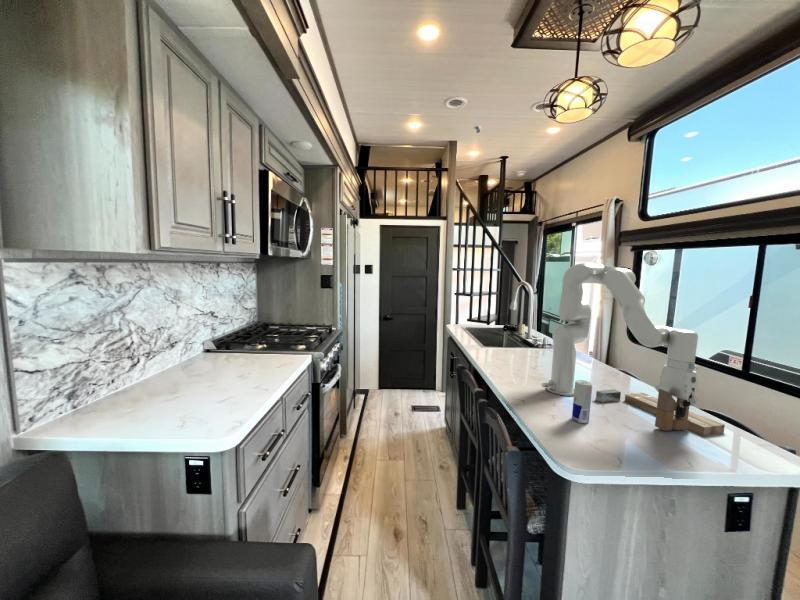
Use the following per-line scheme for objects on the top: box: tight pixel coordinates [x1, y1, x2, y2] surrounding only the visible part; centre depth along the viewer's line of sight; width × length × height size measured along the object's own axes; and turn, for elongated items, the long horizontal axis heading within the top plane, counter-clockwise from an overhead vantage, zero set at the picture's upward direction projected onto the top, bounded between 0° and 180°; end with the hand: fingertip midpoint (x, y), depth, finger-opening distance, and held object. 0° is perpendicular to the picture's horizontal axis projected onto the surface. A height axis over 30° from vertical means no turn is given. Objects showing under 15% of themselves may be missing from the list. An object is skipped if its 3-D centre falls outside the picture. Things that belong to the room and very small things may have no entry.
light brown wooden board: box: [624, 392, 726, 437], centre depth 130 cm, size 10×30×3 cm, turn 15°
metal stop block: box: [595, 389, 622, 403], centre depth 143 cm, size 10×3×4 cm, turn 105°
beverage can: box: [571, 379, 593, 424], centre depth 122 cm, size 6×6×15 cm
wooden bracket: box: [654, 389, 691, 431], centre depth 116 cm, size 4×11×18 cm, turn 99°
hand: (673, 413), depth 117 cm, fingers closed on wooden bracket, 3 cm apart
